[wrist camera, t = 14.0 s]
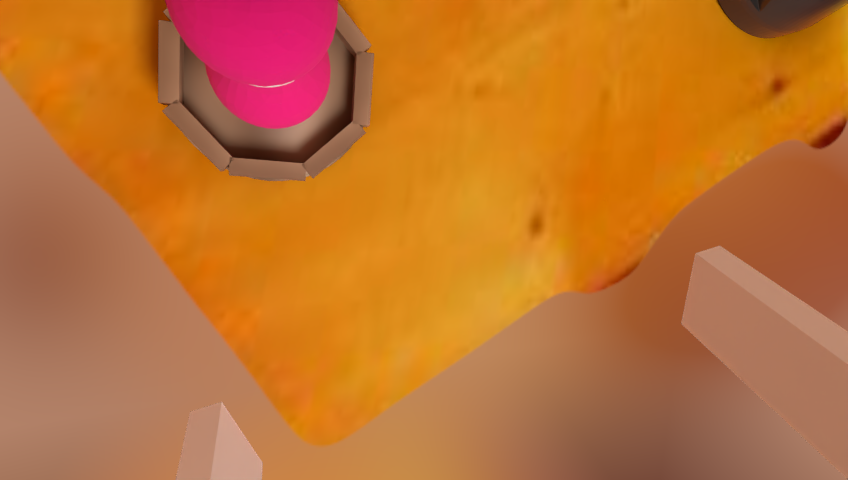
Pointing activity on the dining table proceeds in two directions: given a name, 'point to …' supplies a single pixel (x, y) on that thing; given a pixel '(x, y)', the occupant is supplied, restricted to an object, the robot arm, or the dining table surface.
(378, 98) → the dining table surface
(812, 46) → the dining table surface
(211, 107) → the bowl
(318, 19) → the pepper mill
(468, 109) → the dining table surface
